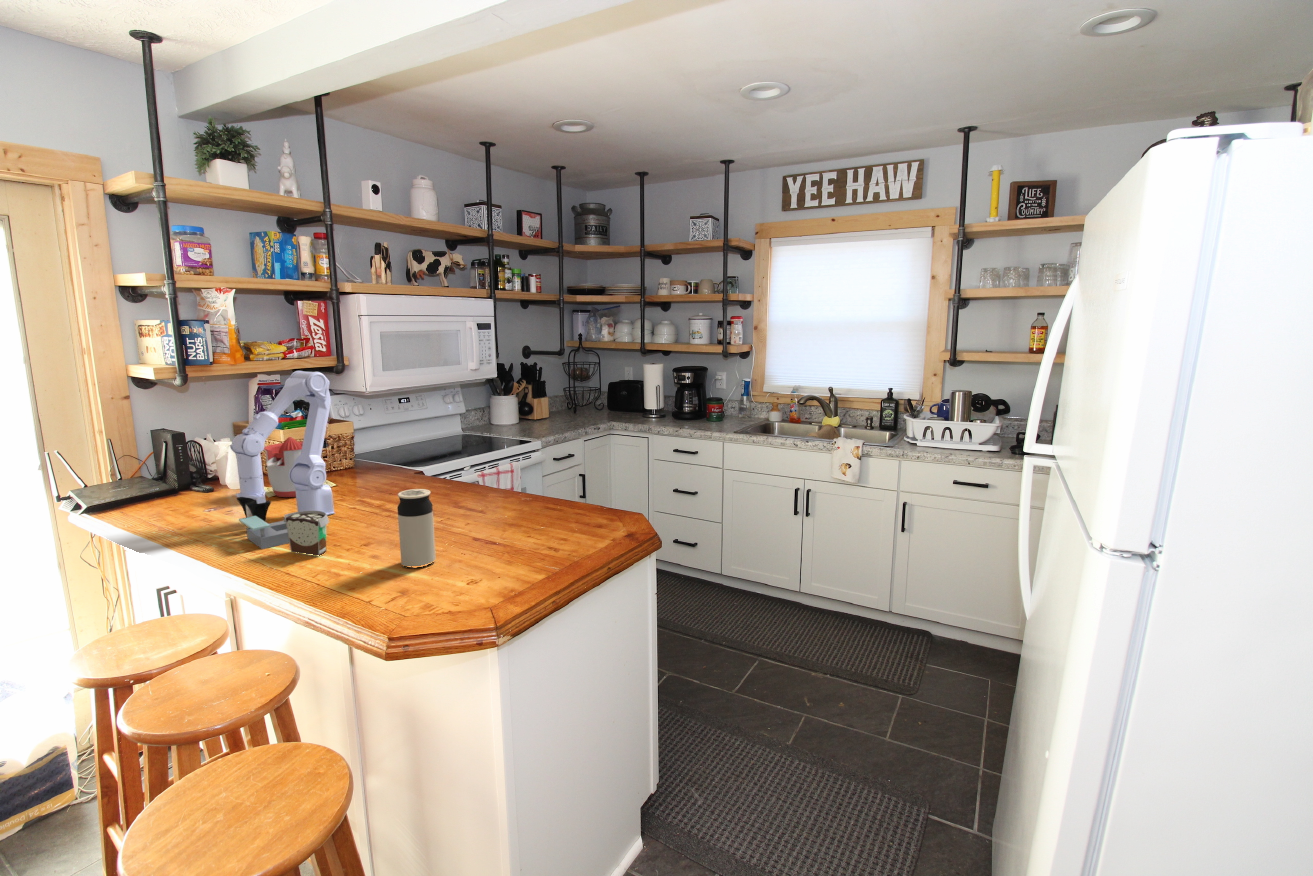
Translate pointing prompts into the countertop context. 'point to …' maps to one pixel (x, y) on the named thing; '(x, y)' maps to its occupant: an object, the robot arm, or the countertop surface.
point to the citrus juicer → (282, 465)
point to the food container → (307, 531)
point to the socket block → (265, 532)
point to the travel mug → (416, 527)
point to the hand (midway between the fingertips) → (256, 523)
